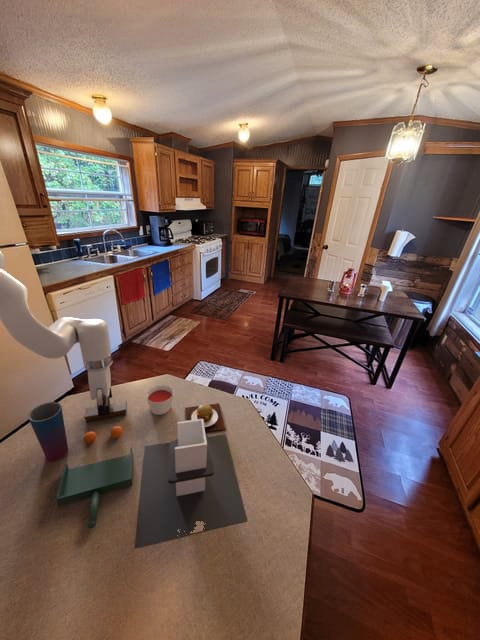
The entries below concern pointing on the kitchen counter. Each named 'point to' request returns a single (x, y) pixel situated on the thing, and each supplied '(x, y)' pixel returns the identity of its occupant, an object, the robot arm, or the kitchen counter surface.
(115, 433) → the crumb
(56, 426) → the cup
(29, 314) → the robot arm
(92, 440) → the crumb
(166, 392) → the candle
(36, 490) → the kitchen counter surface
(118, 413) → the brush
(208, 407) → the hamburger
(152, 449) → the candle holder
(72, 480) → the dustpan
